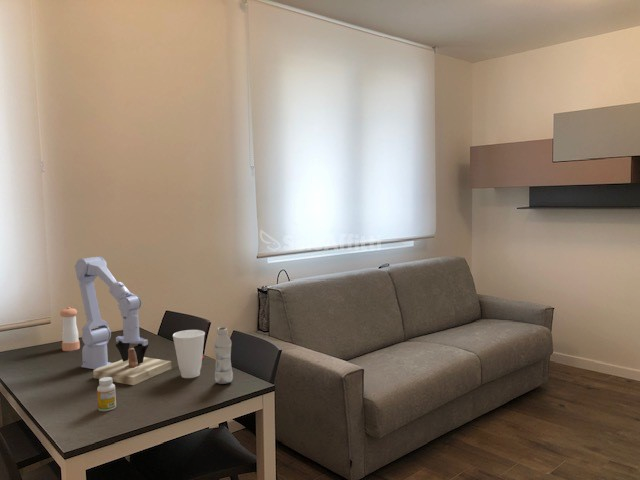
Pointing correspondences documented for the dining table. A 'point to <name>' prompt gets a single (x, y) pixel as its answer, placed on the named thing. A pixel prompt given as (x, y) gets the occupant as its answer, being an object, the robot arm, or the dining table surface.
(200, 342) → the cup
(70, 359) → the dining table surface
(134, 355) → the peg
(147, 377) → the socket block
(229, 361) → the plastic bottle
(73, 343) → the salt shaker
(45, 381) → the dining table surface
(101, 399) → the supplement bottle
